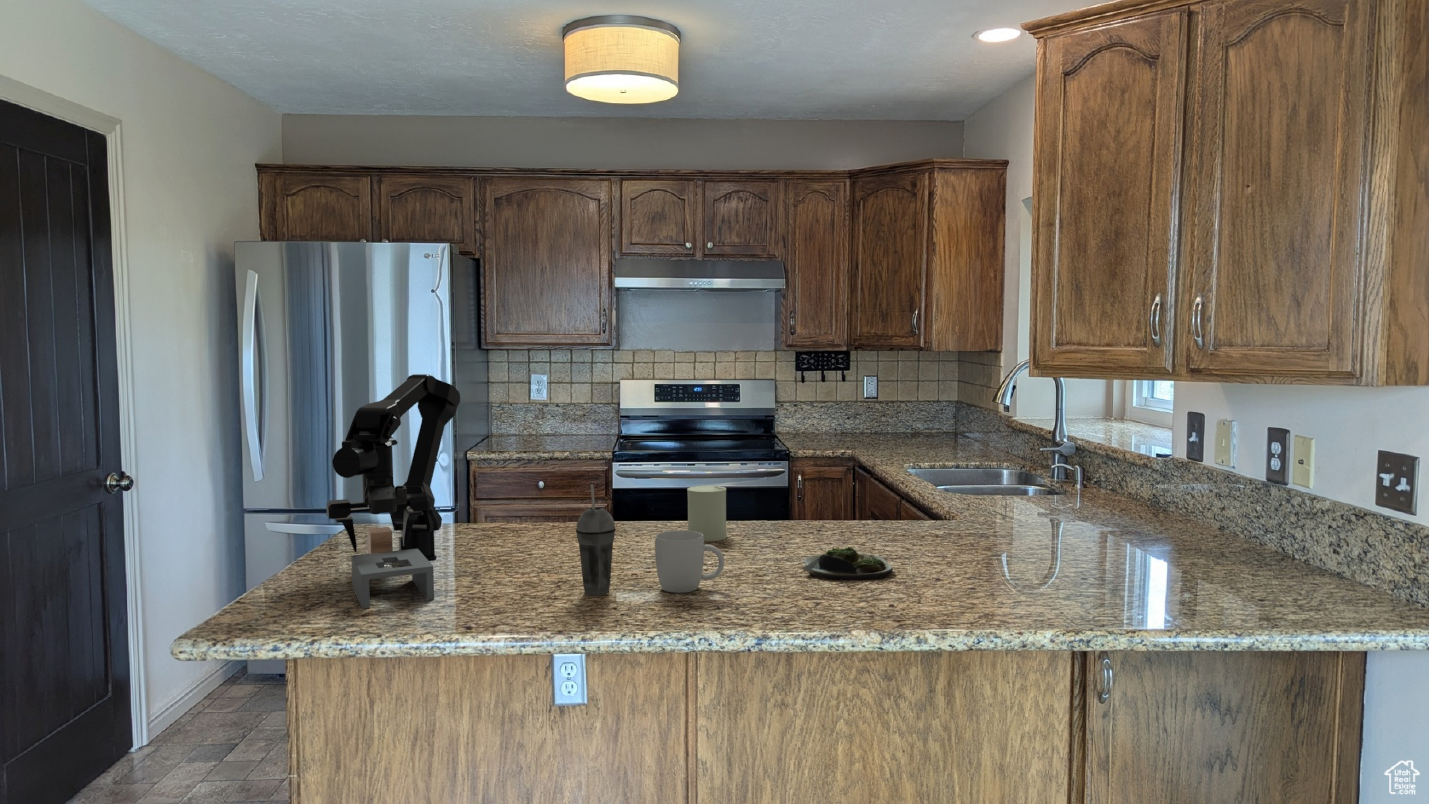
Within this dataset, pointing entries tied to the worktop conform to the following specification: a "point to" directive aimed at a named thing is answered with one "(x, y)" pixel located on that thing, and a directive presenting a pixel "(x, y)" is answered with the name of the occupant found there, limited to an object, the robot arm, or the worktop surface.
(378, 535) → the brown and silver block
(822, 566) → the salad plate
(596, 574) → the beverage cup
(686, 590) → the mug
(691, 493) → the can
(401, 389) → the robot arm
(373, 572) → the keyhole plate
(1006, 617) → the worktop surface
